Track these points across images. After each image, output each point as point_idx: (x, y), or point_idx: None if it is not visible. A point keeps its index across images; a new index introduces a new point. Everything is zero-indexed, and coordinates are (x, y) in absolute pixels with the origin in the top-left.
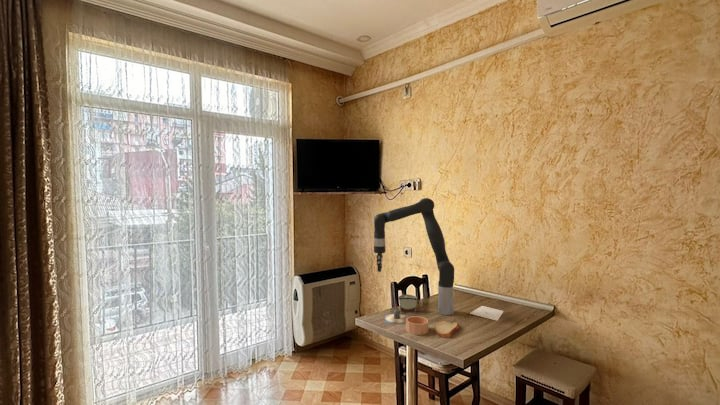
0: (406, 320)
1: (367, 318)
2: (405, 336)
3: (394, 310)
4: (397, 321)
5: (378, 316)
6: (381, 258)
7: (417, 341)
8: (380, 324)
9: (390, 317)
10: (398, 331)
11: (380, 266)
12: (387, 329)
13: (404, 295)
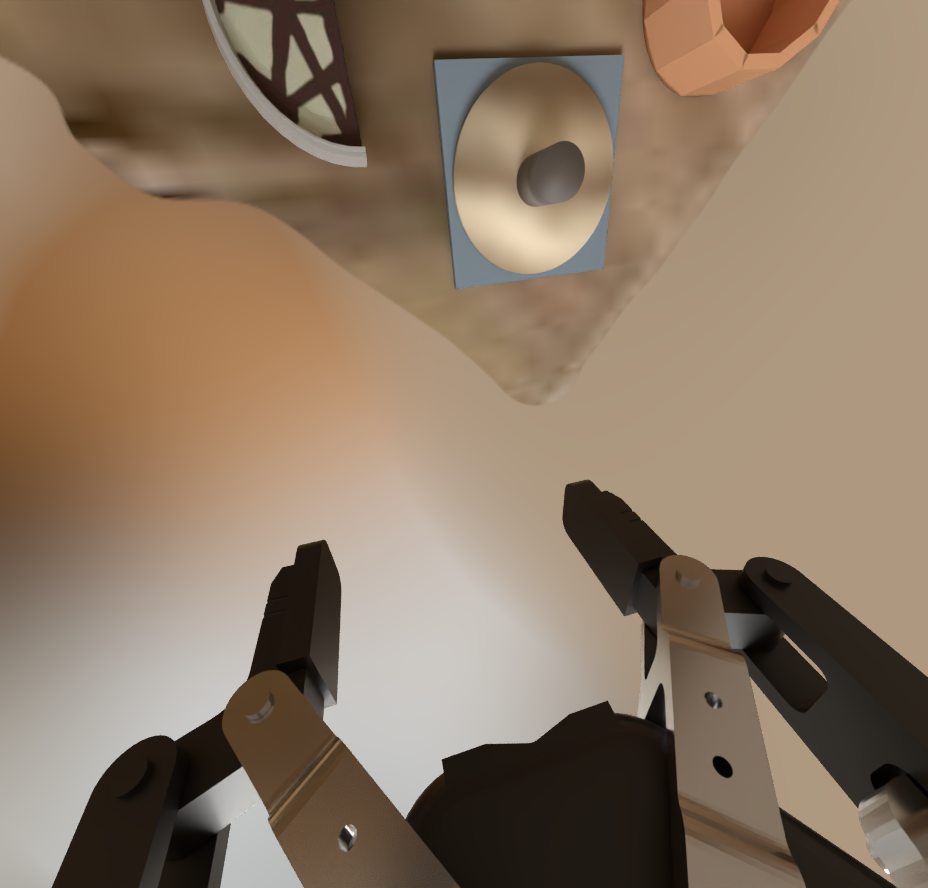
0: (773, 65)
1: (524, 379)
2: (767, 100)
3: (562, 196)
4: (600, 170)
5: (484, 325)
6: (767, 821)
7: (844, 3)
8: (601, 288)
9: (534, 234)
10: (699, 156)
11: (652, 554)
12: (667, 234)
13: (240, 64)
